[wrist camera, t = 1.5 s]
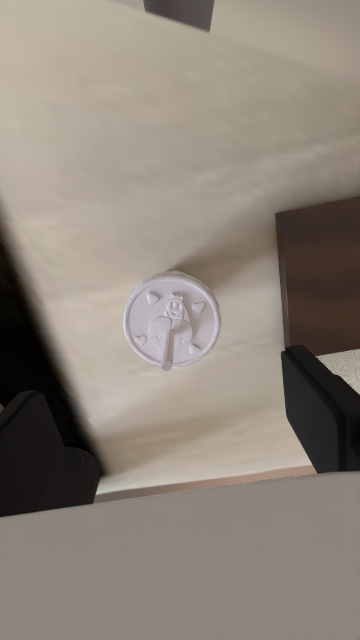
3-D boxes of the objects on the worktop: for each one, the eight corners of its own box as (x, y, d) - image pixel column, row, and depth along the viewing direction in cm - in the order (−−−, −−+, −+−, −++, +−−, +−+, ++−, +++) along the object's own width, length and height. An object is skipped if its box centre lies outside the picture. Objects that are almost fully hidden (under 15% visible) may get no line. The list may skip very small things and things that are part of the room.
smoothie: (137, 313, 28) (97, 399, 14) (147, 249, 25) (110, 279, 12) (200, 325, 28) (217, 419, 15) (215, 262, 26) (250, 306, 13)
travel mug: (80, 500, 36) (-29, 802, 17) (29, 470, 35) (-152, 770, 16) (115, 467, 34) (37, 766, 15) (64, 434, 33) (-95, 725, 14)
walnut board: (275, 213, 24) (280, 212, 23) (416, 184, 24) (431, 182, 22) (285, 353, 29) (290, 360, 28) (403, 333, 28) (415, 339, 27)
